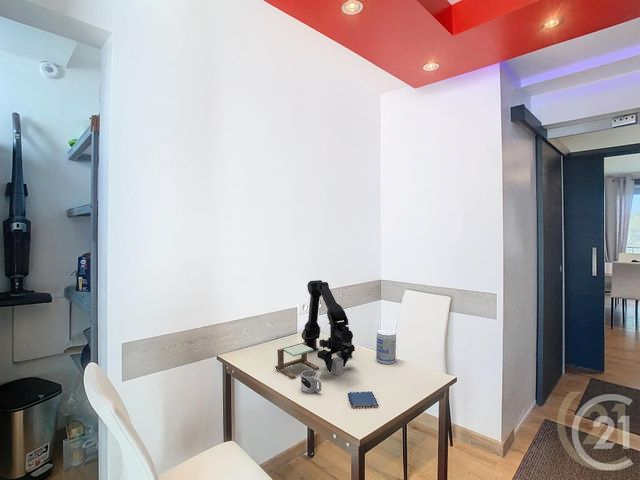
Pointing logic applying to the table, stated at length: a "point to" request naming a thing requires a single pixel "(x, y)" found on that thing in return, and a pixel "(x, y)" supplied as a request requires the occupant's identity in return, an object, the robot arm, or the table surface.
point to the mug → (310, 382)
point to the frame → (292, 362)
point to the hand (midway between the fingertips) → (336, 369)
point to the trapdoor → (298, 350)
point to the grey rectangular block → (337, 366)
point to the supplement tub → (386, 346)
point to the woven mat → (362, 399)
